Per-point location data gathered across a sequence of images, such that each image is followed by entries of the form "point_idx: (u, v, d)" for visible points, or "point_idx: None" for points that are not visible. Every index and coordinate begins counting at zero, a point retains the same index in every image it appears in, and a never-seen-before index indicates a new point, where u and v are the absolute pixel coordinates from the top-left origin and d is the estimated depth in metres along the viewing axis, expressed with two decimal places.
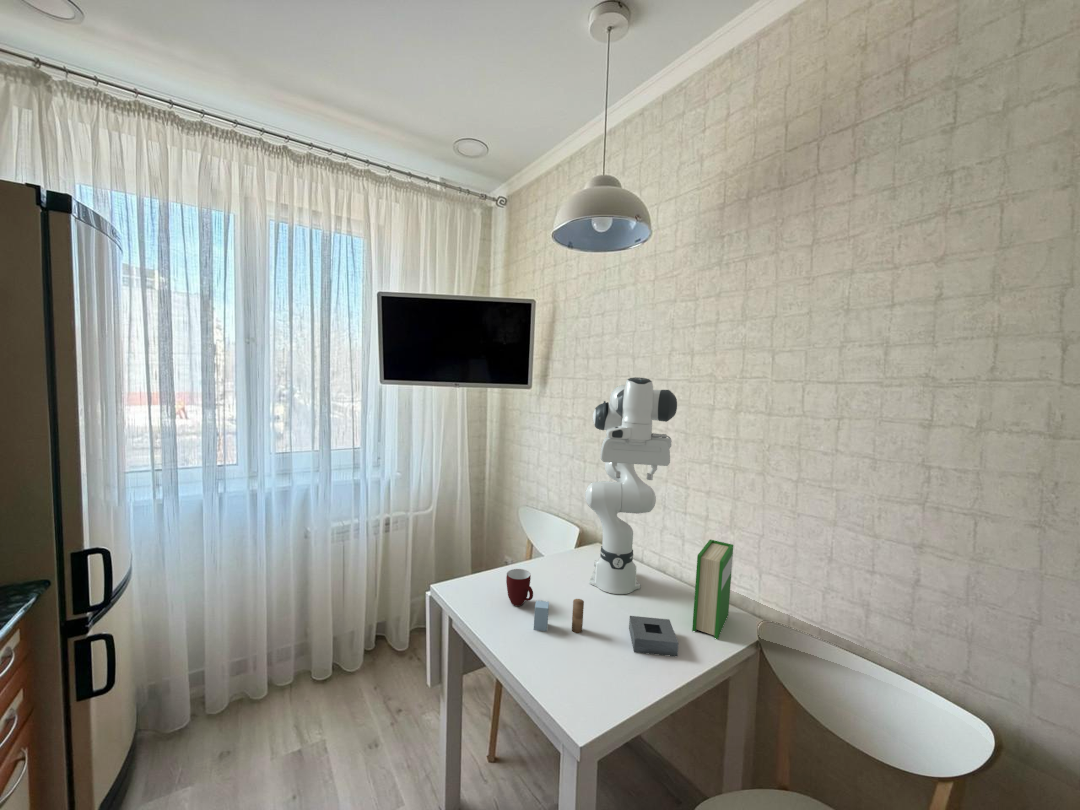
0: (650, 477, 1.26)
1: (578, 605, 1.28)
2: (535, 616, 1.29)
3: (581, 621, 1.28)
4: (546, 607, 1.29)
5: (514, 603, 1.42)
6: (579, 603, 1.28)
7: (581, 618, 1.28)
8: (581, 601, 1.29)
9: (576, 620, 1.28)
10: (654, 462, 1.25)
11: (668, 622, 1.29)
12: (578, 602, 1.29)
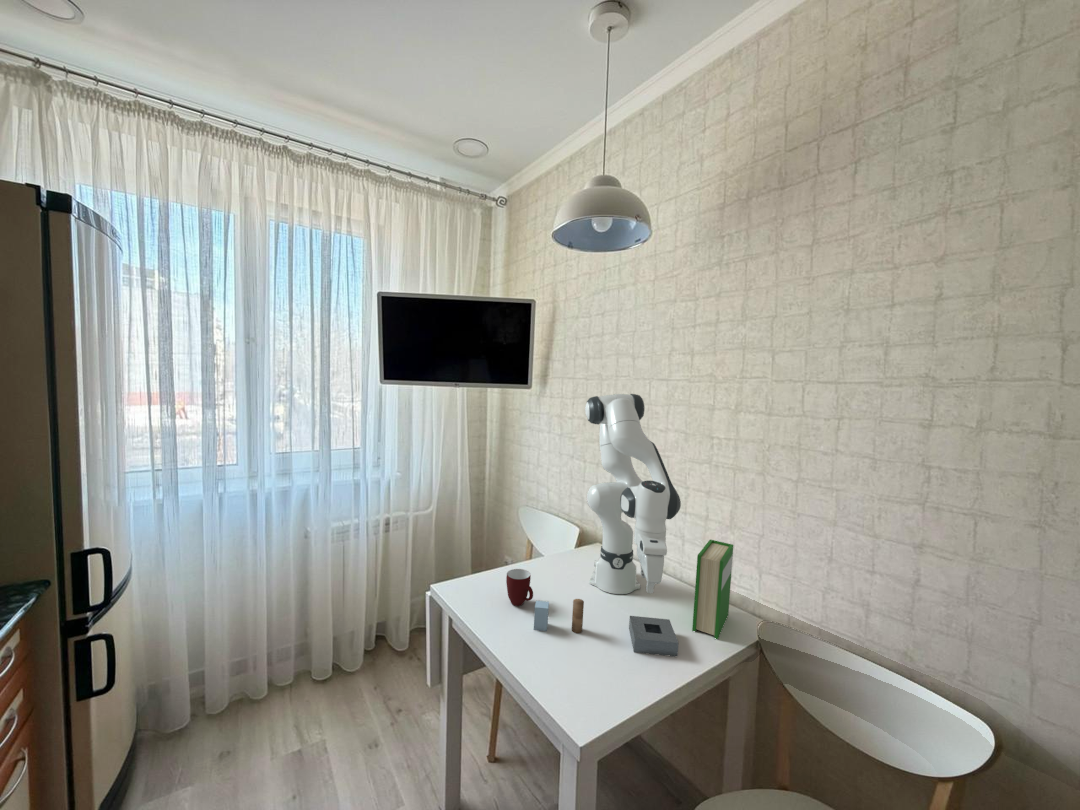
0: None
1: (578, 605, 1.28)
2: (535, 616, 1.29)
3: (581, 621, 1.28)
4: (546, 607, 1.29)
5: (514, 603, 1.42)
6: (579, 603, 1.28)
7: (581, 618, 1.28)
8: (581, 601, 1.29)
9: (576, 620, 1.28)
10: None
11: (668, 622, 1.29)
12: (578, 602, 1.29)
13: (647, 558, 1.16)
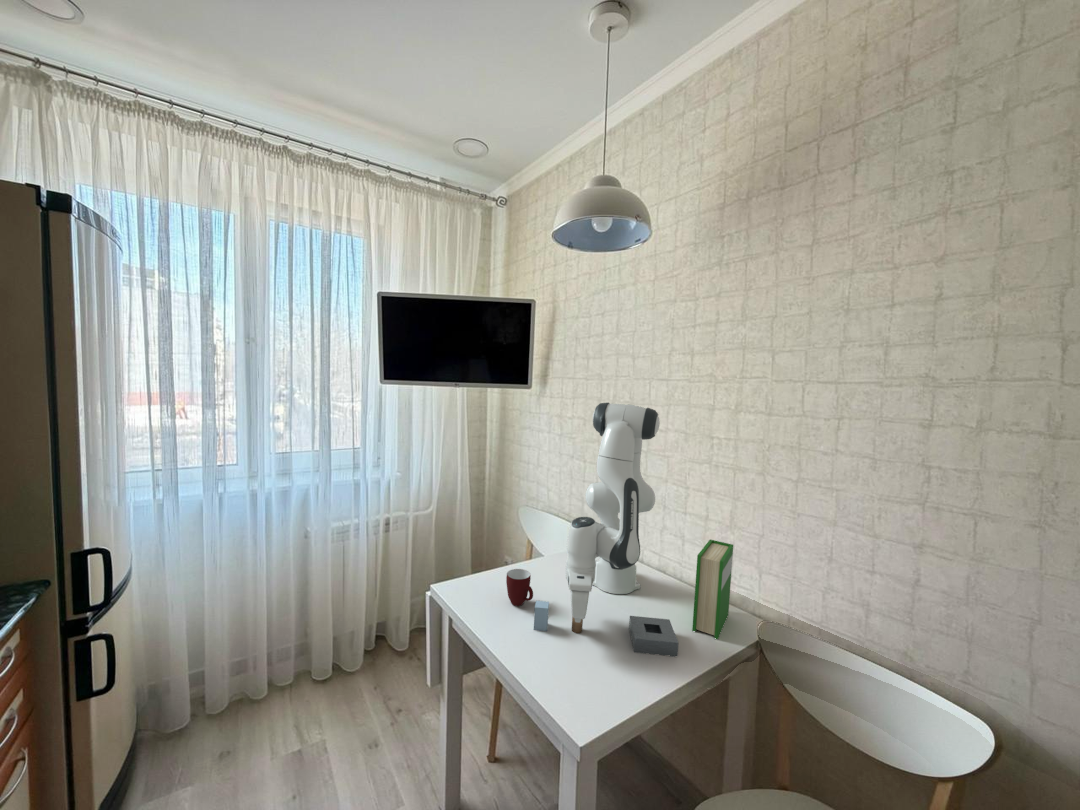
0: None
1: None
2: (535, 616, 1.29)
3: (581, 621, 1.28)
4: (546, 607, 1.29)
5: (514, 603, 1.42)
6: None
7: None
8: None
9: None
10: None
11: (668, 622, 1.29)
12: None
13: (572, 594, 1.20)
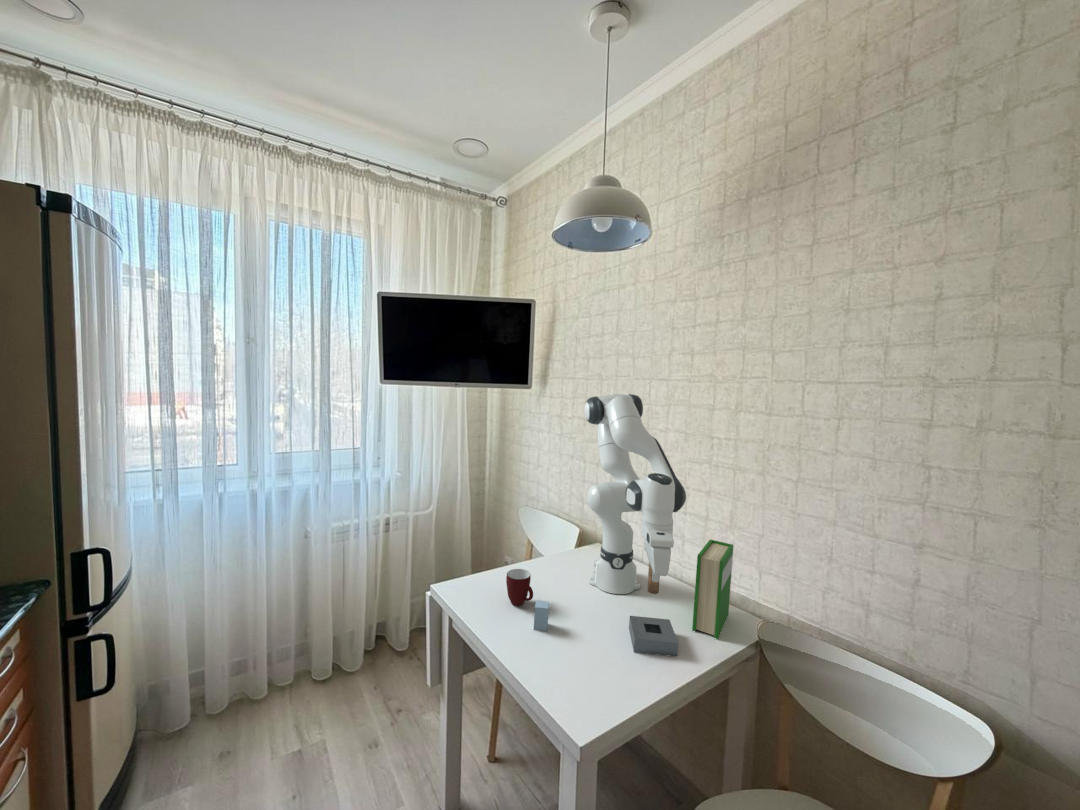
0: None
1: None
2: (535, 616, 1.29)
3: None
4: (546, 607, 1.29)
5: (514, 603, 1.42)
6: None
7: None
8: None
9: None
10: None
11: (668, 622, 1.29)
12: None
13: (654, 550, 1.16)
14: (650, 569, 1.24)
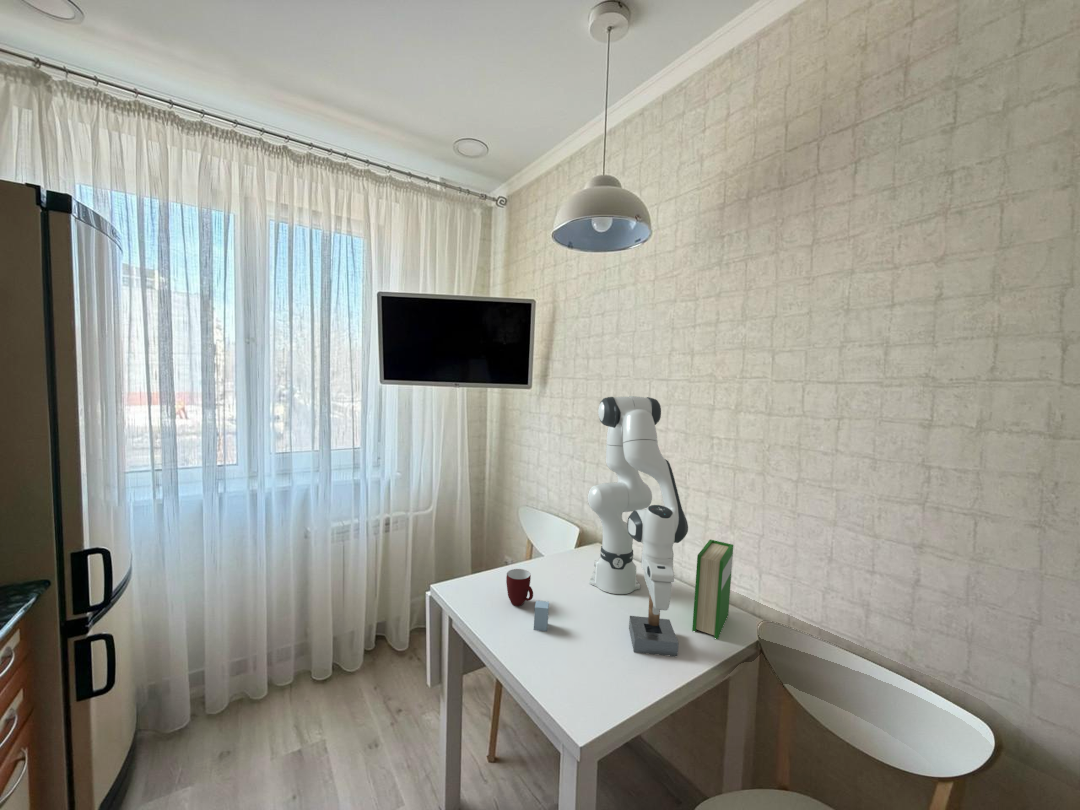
0: None
1: None
2: (535, 616, 1.29)
3: None
4: (546, 607, 1.29)
5: (514, 603, 1.42)
6: None
7: None
8: None
9: None
10: None
11: (668, 622, 1.29)
12: None
13: (654, 585, 1.16)
14: (651, 601, 1.24)
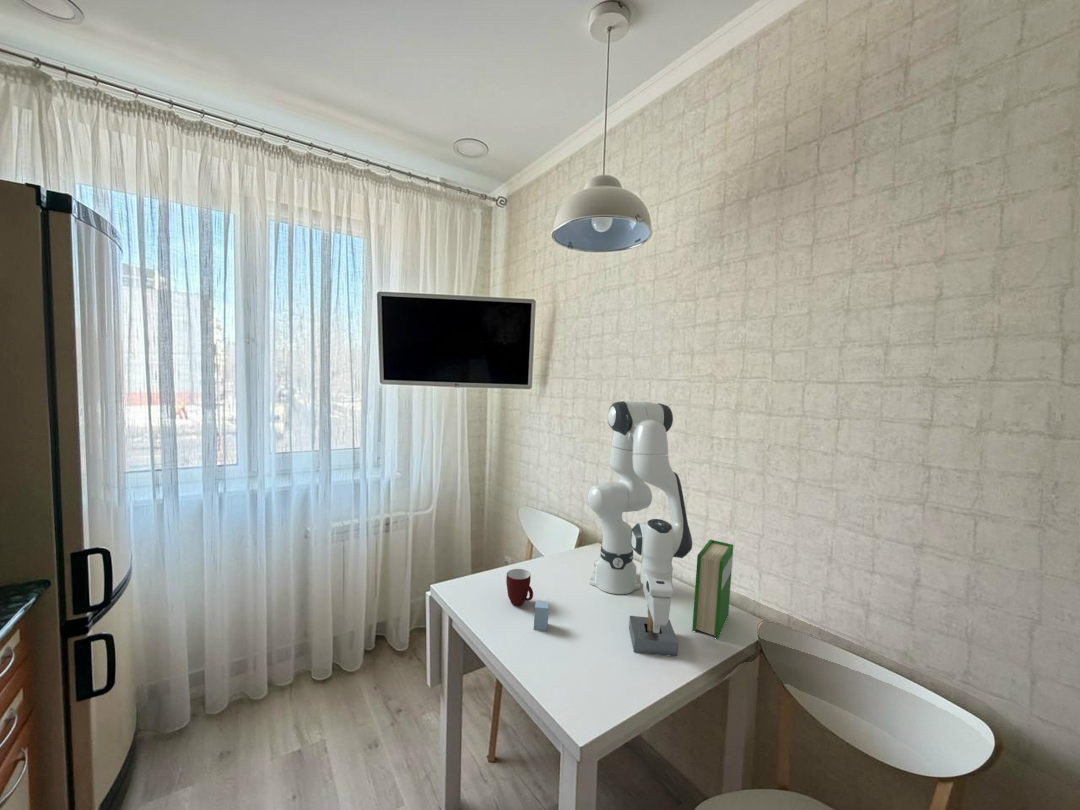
0: None
1: None
2: (535, 616, 1.29)
3: None
4: (546, 607, 1.29)
5: (514, 603, 1.42)
6: None
7: None
8: None
9: (652, 631, 1.24)
10: None
11: (668, 622, 1.29)
12: None
13: (653, 600, 1.16)
14: (649, 620, 1.25)
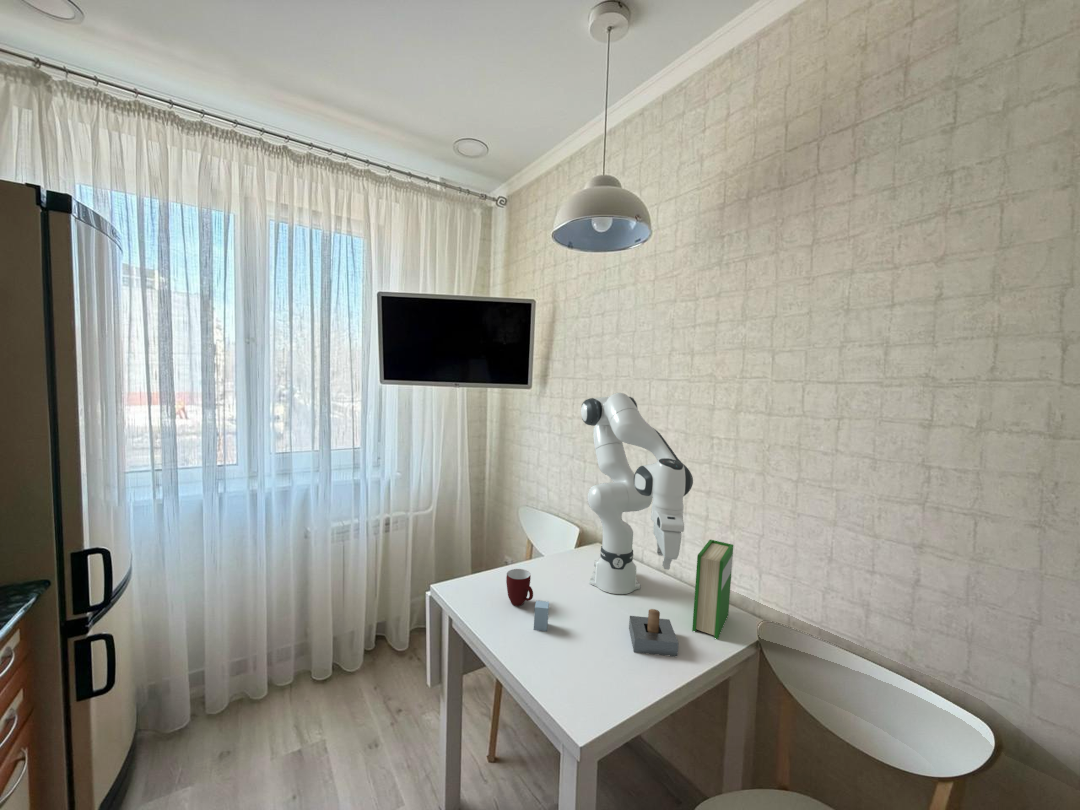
0: None
1: (655, 616, 1.24)
2: (535, 616, 1.29)
3: (657, 632, 1.25)
4: (546, 607, 1.29)
5: (514, 603, 1.42)
6: (655, 614, 1.24)
7: (657, 630, 1.24)
8: (657, 612, 1.25)
9: (652, 631, 1.24)
10: None
11: (668, 622, 1.29)
12: (654, 613, 1.25)
13: (664, 534, 1.16)
14: (649, 620, 1.25)
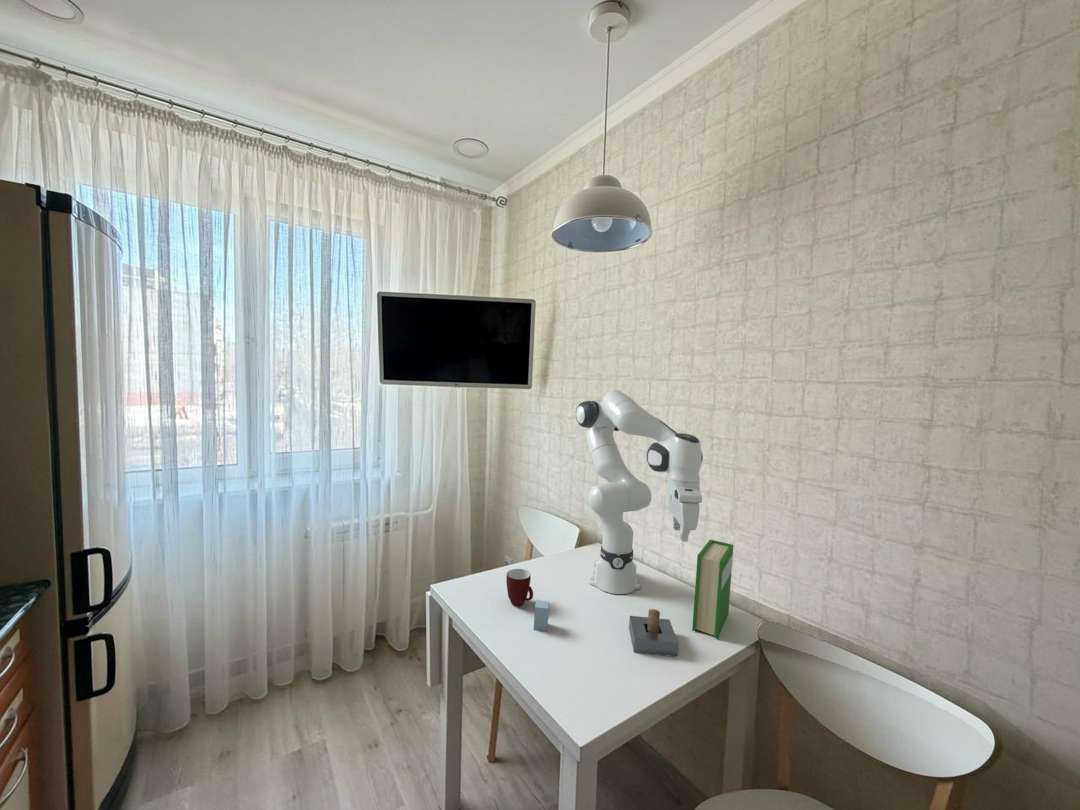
0: None
1: (655, 616, 1.24)
2: (535, 616, 1.29)
3: (657, 632, 1.25)
4: (546, 607, 1.29)
5: (514, 603, 1.42)
6: (655, 614, 1.24)
7: (657, 630, 1.24)
8: (657, 611, 1.25)
9: (652, 631, 1.24)
10: None
11: (668, 622, 1.29)
12: (654, 613, 1.25)
13: (683, 505, 1.18)
14: (649, 620, 1.25)
